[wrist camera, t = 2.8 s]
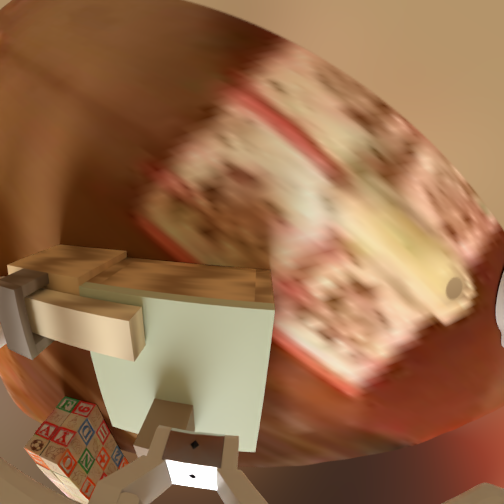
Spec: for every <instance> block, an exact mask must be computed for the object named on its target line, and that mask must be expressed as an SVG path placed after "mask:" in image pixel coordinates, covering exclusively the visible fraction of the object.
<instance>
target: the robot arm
mask: <svg viewBox="0 0 504 504" xmlns="http://www.w3.org/2000/svg"><path fill="white" fill-rule="evenodd" d="M496 321H497V325H498V327H499V329H500V331H501V334H502V336H501V344H502V346H503V347H504V272H503V275H502V278H501V282H500V285H499V290H498V295H497V301H496ZM238 448H239V436H233V435H225V434H213V433H204V432H193V431H188V430H182V429H177V428H172V427H167V426H162V425H159V426H158V427H157V429H156V431H155V434H154V437H153V440H152V442H151V445H150V448H149V450H148V453H147V456H145V455H142V456H141V457H139V458H138V459H136V460H134V461H132V462H131V463H129V464H128V465H126V466H124V467H122V468H121V469H119V470H117V471H116V472H114V473H112V474H110V475H109V476H107V477H105V478H103V479H101V480H99V481H98V483H97V485H96V487H95V489H94V491H93V493H92V496H91V498H90V500H89V502H88V504H149V503H151V502H152V501H153V500H154V499H156V498H157V497H158V496H159V495H160V494H162V493H163V492H164V491H165V490H166V489H167V488H168V487H170V486H171V485H172V483H173V484H179V485H186V486H193V487H200V488H206V489H213V490H217V492H218V493H219V495H220V497H221V498H222V500H223V502H224V503H225V504H268V503H267V502H266V500H265V499H264V498H263V497H262V496H261V495H260V493H259V492H258V491H257V490H256V488H255V487H254V486H253V485H252V483H251V482H250V481H249V480H248V478H247V477H246V476H245V474H244V473H243V472H242V471H241V470H237V466H238ZM0 504H80V503H78V502H76V501H73V500H71V499H69V498H67V497H65V496H63V495H61V494H59V493H57V492H55V491H53V490H52V489H50V488H48V487H46V486H44V485H43V484H41V483H39V482H37V481H36V480H34V479H33V478H31V477H29V476H28V475H26V474H25V473H23V472H21V471H20V470H18V469H17V468H15V467H14V466H12V465H11V464H10V463H8V462H7V461H5V460H4V459H3V458H1V457H0ZM442 504H504V489H503V488H500V487H498V486H495V485H493V484H489V483H482V484H479V485H477V486H475V487H473V488H472V489H470V490H468V491H466V492H464V493H462V494H460V495H458V496H457V497H454V498H452V499H450V500H449V501H446V502H444V503H442Z"/></svg>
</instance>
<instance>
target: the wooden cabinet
mask: <svg viewBox="0 0 504 504" xmlns="http://www.w3.org/2000/svg"><path fill="white" fill-rule="evenodd" d="M7 268H8V276H5V277H3V278H1V279H0V323H1V327H2V330H3V333H4V337H5V340H6V343H7V346H8V349H10V350H12V351H14V352H16V353H19V354H21V355H23V356H25V357H27V358H29V359H32V360H33V359H34V358H35V357H36V356H37V355H38V354H39V353H41V352H42V351H43V350H44V349H45V348H46V347H47V346H49V345H50V344H51V343H52V342H53V341H54V340H53V339H50V338H47V337H44V336H41V335H38V334H36V333H33V332H32V331H31V327H30V323H29V319H28V315H27V311H26V306H25V301H24V297H26V296H28V295H29V294H31V293H33V292H35V291H36V290H38V289H40V288H45V289H49V290H54V291H58V292H63V293H68V294H72V295H77V296H80V293H79V286H80V285H82V284H83V283H85V282H91V283H97V284H104V285H110V286H117V287H124V288H131V289H138V290H146V291H153V292H161V293H170V294H178V295H187V296H196V297H206V298H216V299H226V300H237V301H249V302H262V303H274V297H273V288H272V279H271V271H270V270H264V269H251V268H239V267H227V266H215V265H204V264H193V263H182V262H171V261H160V260H150V259H140V258H130V257H127V251H123V250H112V249H102V248H91V247H81V246H71V245H61V244H59V245H56V246H54V247H51V248H48V249H46V250H43V251H40V252H38V253H35V254H33V255H30V256H27V257H25V258H22V259H20V260H17V261H15V262H13V263H10V264H8V265H7Z"/></svg>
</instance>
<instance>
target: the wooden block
mask: <svg viewBox="0 0 504 504" xmlns="http://www.w3.org/2000/svg"><path fill="white" fill-rule="evenodd" d="M24 301H25V306H26V311H27V315H28V319H29V323H30V327H31V331H32V332H33V333H36V334H38V335H41V336H44V337H47V338H50V339H53V340H56V341H59V342H62V343H65V344H68V345H72V346H75V347H78V348H82V349H85V350H89V351H92V352H96V353H100V354H104V355H108V356H112V357H116V358H120V359H124V360H129V361H133V362H135V360H136V359H137V357H138V356H139V354H140V353H141V351H142V350H143V348H144V347H145V345H146V344H145V335H144V325H143V314H142V307H140V306H133V305H127V304H121V303H115V302H109V301H104V300H98V299H93V298H88V297H82V296H77V295H72V294H68V293H63V292H58V291H54V290H49V289H45V288H40V289H38V290H36V291H35V292H33V293H31V294H29V295H28V296H26V297H24Z"/></svg>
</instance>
